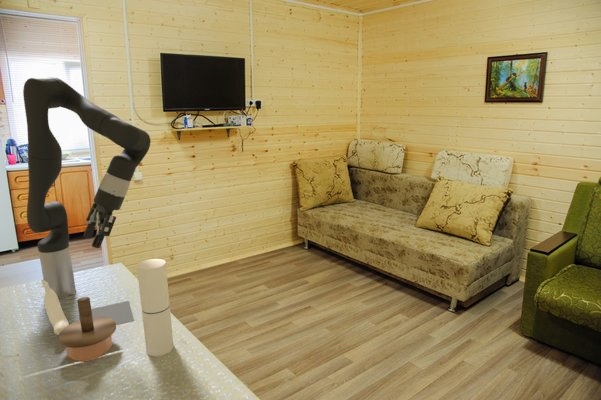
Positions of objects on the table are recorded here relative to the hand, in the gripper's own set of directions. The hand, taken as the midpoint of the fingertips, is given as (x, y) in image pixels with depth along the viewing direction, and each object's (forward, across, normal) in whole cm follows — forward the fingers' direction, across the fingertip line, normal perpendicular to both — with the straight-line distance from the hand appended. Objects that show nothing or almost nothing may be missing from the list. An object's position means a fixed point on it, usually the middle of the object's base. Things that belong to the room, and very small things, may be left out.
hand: (91, 242), depth 122 cm
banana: (+29, -2, +2) cm, 29 cm away
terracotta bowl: (+26, +14, +6) cm, 30 cm away
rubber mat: (+23, -1, +14) cm, 27 cm away
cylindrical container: (+18, +27, +18) cm, 37 cm away
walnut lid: (+21, +14, +3) cm, 25 cm away
